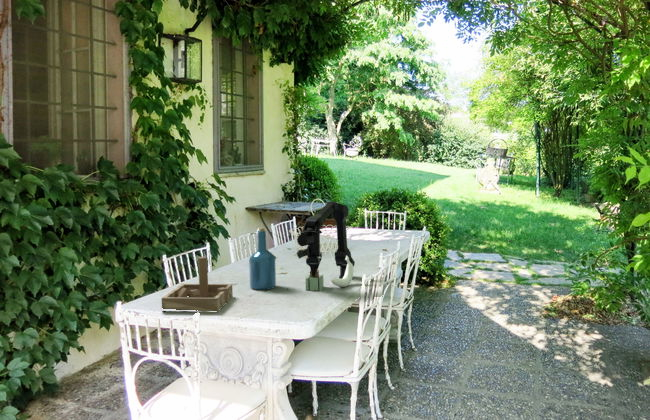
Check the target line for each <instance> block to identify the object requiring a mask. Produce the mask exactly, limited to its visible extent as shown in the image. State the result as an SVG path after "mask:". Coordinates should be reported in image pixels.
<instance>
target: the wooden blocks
mask: <svg viewBox="0 0 650 420" xmlns="http://www.w3.org/2000/svg"><path fill="white" fill-rule="evenodd" d="M197 263H198V264H197V265H198V284H199V290H200V292H199V290H197V289H195V290H190V297H189V298H210V297H209V294H208V284H209V277H208V274H209V273H208V257H207V256H198V259H197ZM221 291H226V303H227V304H229V301H228V289H227V288H224V287H222V288H218V289H217V295H218V294H219V293H220V292H221ZM176 297H184V298H188V297H187V289H185V288H182V289H181V290H180V292H179V293H178V294H177V296H176Z"/></svg>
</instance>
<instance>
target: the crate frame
mask: <svg viewBox="0 0 650 420" xmlns="http://www.w3.org/2000/svg"><path fill="white" fill-rule="evenodd" d="M222 287H224V288H227V289H228V300H229V301H231V299H232V298H233V293H234V292H233V284H232V283H208V294H209V298H190V297H187V298H184V297H176V296H177V294H178V293H179V292H180V290H181V289H182V288H185V289H187V296H190V290H195V289H197V290H199V283H181V284H180V285H179V286H177V287H176V288H174V289H173V290H171V291H170V292H168V293H167V294H165V295H164V296H162V297H161V309H162V308H163V309H176V310H196V311H197V310H198V311H218V310H219V309H220V308H221V307H222V306H223V305H224V304H225V303H226V291H221V292H220V293H219V294H218V295H217V289H218V288H222ZM199 292H200V290H199ZM225 305H226V304H225ZM225 305H224V306H225ZM224 306H223V307H224ZM223 307H222V308H223ZM222 308H221V309H222ZM221 309H220V310H221ZM220 310H219V311H220ZM219 311H218V312H219Z"/></svg>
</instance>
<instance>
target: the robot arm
mask: <svg viewBox="0 0 650 420" xmlns="http://www.w3.org/2000/svg"><path fill="white" fill-rule="evenodd" d="M349 210H350V209H349V206H348V205H346V204H342V203H339V202H338V201H337V202H336V201H327V202H326V204H325V205H324V206H323V207H322V208H321V209H320V210H319V211H318V212H317V213H316V214H314V215H313V214H312V215H311V216H309V217H308V218H306V220H305V223H304V225H303V228H302V230H301V232H300V234H298V235H297V237H296V242H297V244H298V246H300V247H306V246H307V247H306V248H303V249H300V250H299V249H298V251H296V256H297V258H298V259H302V258H304V257H307V258H306V259H305V264H306V265H307V266H309V268H310V270H311V273H312V276H313V277H315V274H316V271H317V270H319V266H320V265H321V262H322V260H323V259H322V258H323V253H322V252H321V239H320V238H321V234H322V233H323V231H322V230H321V229H322V228H323V226H324V222H325V220H327V218H328V217H329V216H330V215H331V214H332V217H333V219H334V221H335V223H336V237H337V238H336V239H337V249H336V251H335V252H334V260H335V265H336V267H339V274H340V275H339V277H338V278H339V279H342V278H343V277H344V274H345V271H346V267H347V261H346V260H345V258H346V255H347V256H348V258H349V261H350V262H351V263H352V265H353V267H355V260H354V258H353V257H352V253H351V250H350V249H349V248H348V237H347V236H348V235H347V223H346V222H347V219H348V218H349Z"/></svg>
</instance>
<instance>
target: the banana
mask: <svg viewBox="0 0 650 420" xmlns="http://www.w3.org/2000/svg"><path fill="white" fill-rule="evenodd" d="M345 260H346V261H347V267H346V271H345V274H344V277H343V278H339V277H337V278H332V279H331V280H330V281H331V283H332V284H333V285H335V286H336V287H339V288H344V287H345V288H346V287H348V286H349V285H350V284H351V282H352V279H353V276H354V266H353V265H352V263H351V262H350V261H349V258H348V256H347V255H346V258H345Z"/></svg>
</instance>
